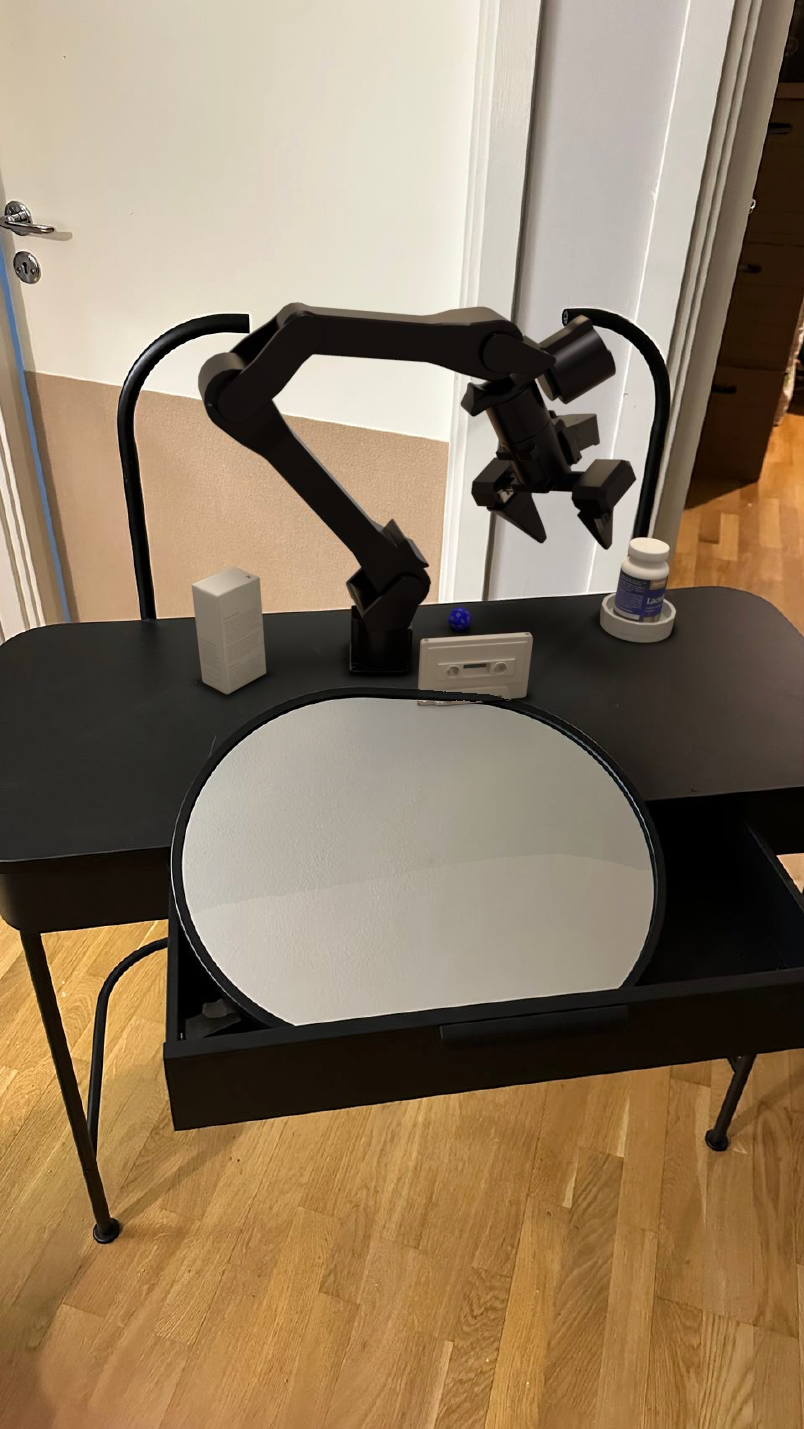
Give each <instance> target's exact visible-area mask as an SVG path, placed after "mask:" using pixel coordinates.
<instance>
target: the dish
mask: <svg viewBox="0 0 804 1429" xmlns="http://www.w3.org/2000/svg"><path fill="white" fill-rule="evenodd" d="M615 596H616V592H613V593H610V594H608V595H607V596H605V597H603V601H602V602H601V608H600V613H599V624H600V627H601V628H602V629H603V630H604V631H605V632H607V634H609V635H611V636H613V637H615V638H616V639H617V638H618V639H620V640H624V641H627V642H633V643H642V644H643V643H644V644H645V643H646V644H647V643H648V644H649V643H656V642H660V641H663V640H665V639H667V638H669V636H670V635H671V634H672V633H673V627H674V624H675V619H676V614H677V610H676V608H675V606H674V605H673V603H671V602H670V601H668V600H667V599H665V598H664V600H663V605H662V610H661V615H660V619H659V622H655V623H639V622H634V621H629V620H625V619H623V618H620V617H618V616H616V615H614V614H613V607H614V602H615Z"/></svg>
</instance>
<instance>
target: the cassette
mask: <svg viewBox="0 0 804 1429" xmlns="http://www.w3.org/2000/svg"><path fill="white" fill-rule="evenodd" d="M533 643H534V638H533V635H532V634H531V632H529V631H528V632H527V631H526V632H512V633H497V634H496V633H495V634H493V633H492V634H477V635H464V636H463V635H462V636H449V637H447V636H446V637H432V638H422V639H421V640H420V644H419V645H420V646H419V661H418V662H419V664H418V683H417V684H418V685H417V690H418V689H420V690H434V691H443V692H444V691H446V692H462V693H477V694H490V695H494V696H498V697H501V698H504V699H509V700H508V701H511V699H522V698H523V699H524V698H525V697H526V696H527V694H528V693H527V692H528V683H529V677H530V676H529V675H530V668H531V661H532V660H531V659H532V652H533V651H532V650H533ZM480 664H485V667H471V668H470V667H469V668H468V667H467V668H464V667H465V666H464V665H480ZM417 702H418V703H419V705H420V706H429V705H434V706H437V707H438V705H439V706H451V705H464V704H465V705H466V704H477V703H483V702H482V701H476V702H470V701H465V700H463V701H457V700H456V701H451V702H445V701H443V703H441V702H439V703H437V702H435V701H426V702H423V701H418V700H417Z"/></svg>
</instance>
